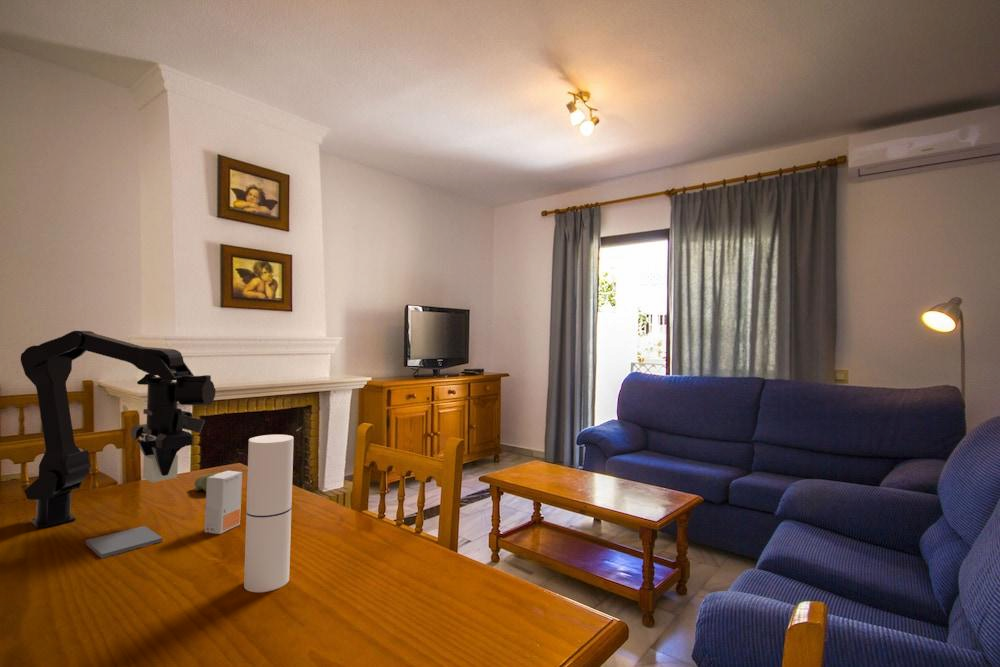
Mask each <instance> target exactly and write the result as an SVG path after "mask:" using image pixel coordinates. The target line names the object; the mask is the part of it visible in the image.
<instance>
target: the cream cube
mask: <svg viewBox="0 0 1000 667" xmlns="http://www.w3.org/2000/svg"><path fill="white" fill-rule="evenodd" d="M142 463H143V464H142V465H143V468H142V479H144V480H146V481H148V482H149V483H156V482H162V481H166V480H167V481H168V480H170V479H171V480H172V479H176V478H178V470H179V469H178V466H179V465H178V463H179V455H178V454H176V455H175V458H174V460H173V463H172V466H171V468H170V471H169V474H168V475H165V476H162V474H161V472H160V469H159V466H158V464H157V461H156V458H155V455H154V454H153V455H147V456H144V455H143V462H142Z"/></svg>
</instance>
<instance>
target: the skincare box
mask: <svg viewBox="0 0 1000 667" xmlns="http://www.w3.org/2000/svg"><path fill="white" fill-rule="evenodd" d="M217 473H218V474H215V475H213V476H210V477H207V488H206V491H205V515H204V533H207V532H209V533H208V534H216V535H221V534H223V533H225V532H227V531H229V530H231V529H233V528H235V527H238V526H239V525H240V524H241V509H242V508H241V506H242V486H243V484H242V483H243V472H242V471H236V470H235V471H234V470H233V471H232V470H226V471H223V472H217Z"/></svg>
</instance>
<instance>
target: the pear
mask: <svg viewBox="0 0 1000 667" xmlns="http://www.w3.org/2000/svg"><path fill="white" fill-rule="evenodd" d="M218 473H219V472H214V473H209V474H203V475H201V476H199V477H198V478H197V479H195V482H194V491H196V492H199V491H205V492H206V488H207V477H210V476H213V475H215V474H218ZM202 489H203V490H202Z"/></svg>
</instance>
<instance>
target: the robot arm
mask: <svg viewBox="0 0 1000 667" xmlns="http://www.w3.org/2000/svg"><path fill="white" fill-rule="evenodd" d="M86 352H90V353H94V354H97V355H100V356H103V357H104V356H105V357H108V358H111V359H116V360H119V361H122V362H126V363H130V364H132V365H133V366H134V367H136V369H138V370H140V371H142V372H144V373H146V374H145V375H144V376H143V377H142V378H141V379H139V380H137V381H136V382H137V383H136V384H137V385H144V386H145V385H147V398H146V401H147V402H146V408H143V410H142V412H143V414H144V415H146V423H144V424H143V423H141V424H136V425H134V426H133V427H132V428H131V429H130V438H131V439H134V440H136V441H135V442H136V444H137V445H138V447H139V449H140V450H141V452H142V454H143V457H144V456H147V455H153V454H154V455H155V458H156V461H157V464H158V466H159V469H160V472H161V474H162V476H165V475H168V474H169V471H170V468H171V466H172V463H173V460H174V458H175V455H177V454H178V452H179V451H180V450H181V449H183V448H184V447H189V446H193V445H194V442H195V441H194V438H195V437H194V436H195V435H193V434H192V433H190V432H188V431H191V432H195V433H199V434H201V432H202V429H203V427H204V424H205V422H206V420H205V419H201V418H198V417H193V413H192V412H189V411H185V410H182V408H179V407H178V403H179V405H183V406H210V405H211V404H212V403H213V402H214V399H215V397H216V389H217V388H215V384H214V382H213V381H212V377H211V375H209V374H207V375H206V374H203V375H194V373H193V372H192V371H191V369H190V367H189V366H187V364H186V363H185V362H184V357H183V355H182V353H181V352H180V351H179V350H177V349H175V348H162V347H152V346H151V347H150V346H141V345H138V344H134V343H131V342H127V341H124V340H121V339H120V340H119V339H116V338H113V337H109V336H105V335H102V334H98V333H95V332H93V331H91V330H73V331H70V332H68V333H65V334H64V335H63V336H60V337H56V338H54V339H51V340H48V341H45V342H43V343H41V344H39V345H31V346H29V347H27V348H25V350H24V351H23V352H22V353H21V354H20V363H21V367H22V369H23V372H24V375H25V376H26V377H27V378H28V380H29V381H30V382H32V384H33V385H34V386H35V388H36V394H37V401H38V402H37V403H38V410H39V416H40V419H41V420H40V421H41V428H42V433H43V434H42V435H43V440H44V441H43V442H44V449H45V450H44V454H43V455H42V458H41V460H40V462H39V465H38V478H37V479H35V480H34V481H33V482H32V483H31V484H30V485H29V486H28V487H26V488H25V489H24V495H25V497H26V500H28V501H29V500H35V501H36V510H35V514H36V515H35V518H31V519H30V522H31V524H32V525H33V526H34V527H35V528H36V529H41V528H45V527H46V528H47V527H50V526H54V525H60V524H64V523H69V522H74V521H76V520H77V518H76V516H74V515H73V514H72V513H71V509H72V506H71V505H72V491H74V490H76V489H80V488H81V487H82V486H81V485H82V484H83V481H85V479H86V477H87V476H88V475H89V473H90V468H92V464H91V463H90V458H89V457H90V453H89V450H88V449H85V450H82V451H81V450H80V449H79V447H78V446H77V445H76V443H75V438H74V429H73V425H72V424H73V423H72V415H71V411H70V404H69V398H68V391H67V380H68V379H69V377H70V374H71V372H72V371H73V370H72V367H73V361H74V360H76V359H78V358H80V357H81V356H82V355H84V354H85V353H86ZM139 437H140V439H139ZM137 439H139V440H137Z"/></svg>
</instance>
